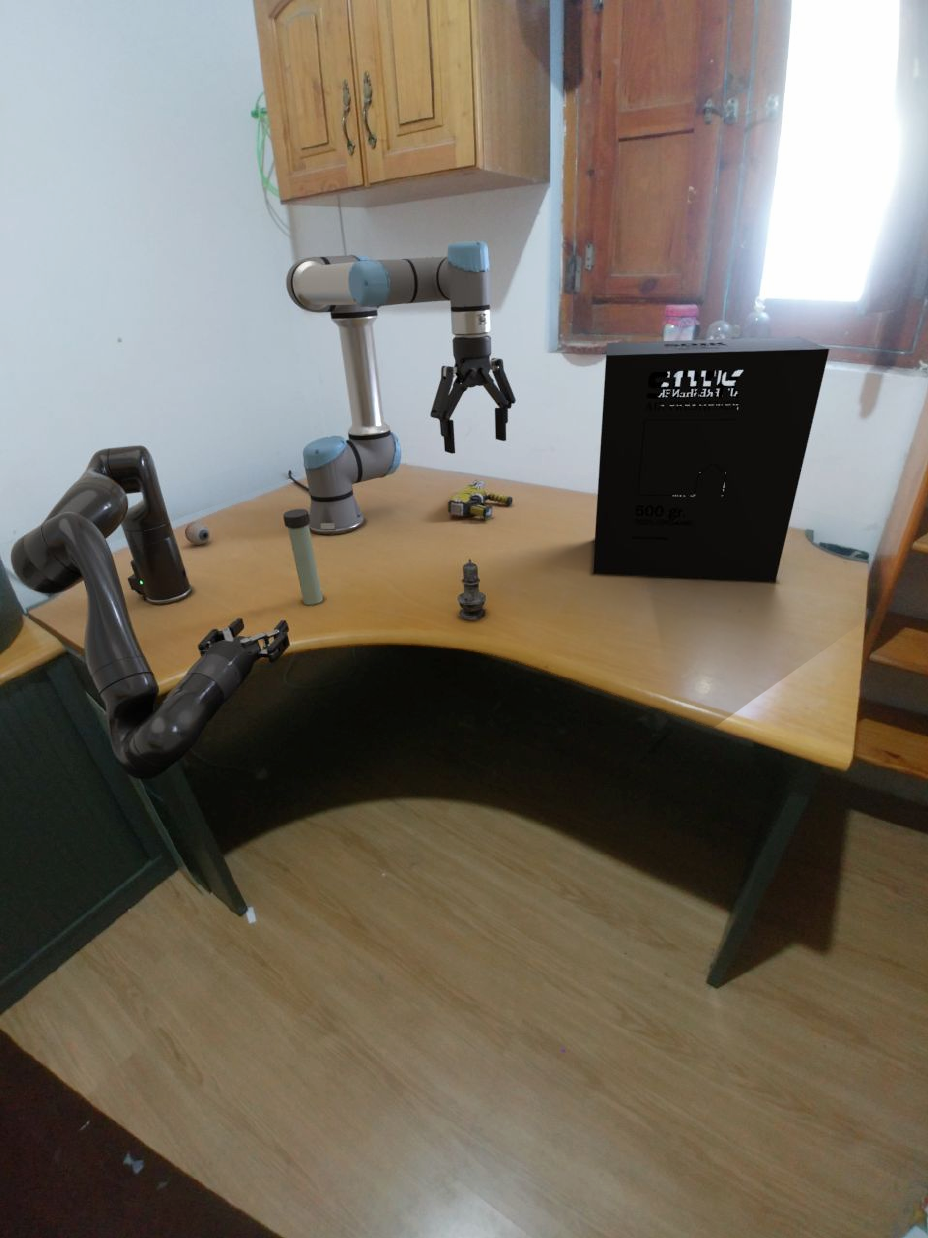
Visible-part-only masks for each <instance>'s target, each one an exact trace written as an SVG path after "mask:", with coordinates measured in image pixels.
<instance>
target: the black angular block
mask: <svg viewBox="0 0 928 1238" xmlns="http://www.w3.org/2000/svg"><path fill="white" fill-rule="evenodd" d="M605 351H606V352H605V367H604V369H605V370H604V383H603V384H604V385H603V399H602V400H603V401H602V415H601V431H600V433H601V434H600V448H599V465H598V481H597V497H596V511H595V512H596V514H595V529H594V531H595V532H594V547H593V548H594V550H593V566H592V575H608V576H628V577H629V576H631V577H654V578H655V577H656V578H675V579H676V578H677V579H678V578H679V579H701V580H702V579H703V580H724V581H725V580H726V581H747V582H770V583H776V582H777V577H778V573H779V568H780V565H781V560H782V556H783V552H784V547H785V543H786V538H787V534H788V531H789V530H788V529H789V525H790V521H791V518H792V517H791V516H792V514H793V513H792V512H793V508H794V504H795V500H796V496H797V491H798V488H799V482H800V477H801V474H802V470H803V465H804V460H805V456H806V453H807V448H808V444H809V440H810V435H811V431H812V427H813V422H814V418H815V414H816V409H817V405H818V400H819V397H820V391H821V387H822V383H823V380H824V379H823V378H824V375H825V370H826V366H827V363H828V362H827V361H828V358H829V353H830V348H828V347H826V346H824V345H820V344H819V343H815V342H813V341H811V340H808V339H805V338H803V337H800V336H780V337H778V336H775V337H749V338H748V337H747V338H745V337H744V338H721V339H720V338H717V339H716V338H715V339H689V340H688V339H687V340H684V339H683V340H657V341H655V340H654V341H628V342H627V341H626V342H624V341H623V342H607V343H606V349H605ZM720 371H721V372H720ZM737 371H742V372H740V374H739V375H734V374H735V373H736V372H737ZM678 372H682V376H681V377H680V382H679V385H677V386H676V382H677V377H676V374H677V373H678ZM689 372H694V373H693V382H695V385H691V384H692V376H689ZM702 372H705V375H704V376H702V374H703V373H702ZM719 375H720V379H719ZM724 375H725V377H724ZM723 378H724V382H734V383H733V385H725V384H723ZM705 382H710V385H704V384H705ZM664 383H665V384H666V383H667V386H663V385H664Z"/></svg>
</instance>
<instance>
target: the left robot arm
mask: <svg viewBox="0 0 928 1238" xmlns="http://www.w3.org/2000/svg"><path fill="white" fill-rule="evenodd" d="M139 493H141V495H142V499H141V500H140V501H139V502H137V503H136V504H133V505H131V506H129V498H128V496H127V495H131V494H139ZM120 526H121V529H122V532H123V534H124V537H125V540H126V543H127V546H128V549H129V551H130V554H131V557H132V559H131V561H130V566H131V568H132V572H133V574H131V575H130V576H128V577H127V582H128V584H129V587H130V590H131V591H135V593H137V594H138V595H140V596H142V600H143V601H146V602H148V603H149V604H152V605H167V604H171V603H175V602H178V601H181V600H183V599H186V598H187V597H188V596H189V595H190V594H191V593H192V592H193V589H192V586H191V584H190V581H189V577H188V571H187V567H186V566H185V564H184V560H183V558H182V555H181V552H180V549H179V546H178V543H177V539H176V536H175V533H174V530H173V526H172V523H171V519H170V516H169V514H168V510H167V506H166V501H165V498H164V496H163V493H162V488H161V485H160V480H159V477H158V472H157V468H156V465H155V462H154V458H153V456H152V454H151V452H150V451H149V449H148V448H147V447H146V446H145V445H142V444H140V445H139V444H137V445H136V444H135V445H126V446H117V447H107V448H102V449H100V450H98V451H96V452H95V453H93V455H92V456H91V458H90V460H89V462H88V464H87V466H86V468H85V470H84V472H83V473H82V474H81V476H80V477H79V478H78V480H76V481H75V482H74V483H73V484H72V485H71V486H70V487H69V488H68V489H67V490H66V491H65V493H64V494H63V495H62V497H61V498H60V499H59V500H58V502H57V503H56V504H55V505H54V507H53V508H52V509H51V511H50V512H49V513H48V515H47V516H46V517H45V519H44V520H43V522H41V524H39V525H38V526H37V527H35V528H33V529H32V530H30V531H29V532H27V533H26V534H24V535H23V536H21V537H20V538H19V539H17V540H16V541H15V543H14V544H13V546H12V547H11V550H10V564H11V569H12V570H13V572H14V574H15V576H16V578H17V579H18V580H19V581H20V582H21V583H22V584H23V585H24V586H25V587H27V588H29V589H31V590H32V591H34V592H38V593H41V594H46V595H55V594H60V593H63V592H66V591H68V590H70V589H73V588H74V587H75V586H78V585H79V584H81V583H82V582H84V586H85V591H86V599H87V600H86V601H87V604H86V606H87V611H86V612H87V614H86V624H85V625H86V626H85V633H84V658H85V659H84V660H85V664H86V668H87V670H88V673H89V675H90V678H91V680H92V682H93V684H94V687H95V688H96V691H97V693H98V695H99V697H100V699H101V701H102V704H103V705H104V709H105V717H106V724H107V729H108V736H109V740H110V746H111V749H112V753H113V756H114V758H115V760H116V761H117V764H118V765H119V767H121V769H122V770H123V771H124V772H125V773H126V774H128V775H129V776H131V777H132V778H135V779H137V780H151V779H153V778H156V777H158V776H160V775H161V774H162V773H164V772H165V771H166V770H168V769H169V768H170V767H171V766H173V765H174V764H175V763H176V762H178V761H179V760H180V759H182V758H183V757H184V756H185V755H187V753H188V752H189V751H190V750H191V749H192V747H193V746H194V745H195V744H196V742H197V741H198V739H199V738H200V737H201V735H202V733H203V731H204V729H205V727H206V726H207V723H209V721H211V719H212V718H213V717H214V716H215V714H216V713H217V712H218V711H219V710H220V708H221V707H222V706H223V705H224V704H225V703H226V702H227V701H228V700H230V699H231V697H232V696H233V695H234V694H235V692H236V691H237V690H238V689H239V688H240V686H241V685H242V684H243V683H244V681H245V680H246V679H247V678H248V677H249V675H250V674H251V672H252V670H253V668H254V665H255V663H256V662H258V661H259V660H261V659H262V658H263V659H268V662H269V663H270V664H271V663H272V664H273V663H276V662H277V661H278V660H279V659H280V658H281V656H283V654H284V653H285V652H286V651H287V649H288V648H289V647H290V646H291V643H290V639H289V635H288V633H289V631H290V628H289V624H288V622H287V620H286V619H281V620H280V621H279V622H278V623H277V624H276V626H275V627H274V628H273V629H272V630H271V631H268V632H264V631H262V632H260V633H257V634H255V635H253V636H244V635H240V633H242V632H243V630H245V623H244V620H243V618H242V617H237V618H236V619H235V620H233V621H232V622H231V623H230V624H229V625H227V627H223V628H222V629H221V630H219V629H218V628H213V629H211V630H210V631H209V632H208V633H207V635H206V636H204V637H203V639H201V641H200V642H199V643H198V644H197V649H198V652H199V655H200V657H199V658H198V659H197V661H195V662H194V663H193V665H191V667H189V669H188V670H187V672H186V673H185V675H184V676H183V677H182V678H181V679H180V680H179V682H177V684H175V686H174V687H173V688H172V689H170V691H169V692H168V693H167V694H166V696H165V698H164V700H163V701H162V703H160V705H158V706H157V707H156V708H155V709H154V705H155V702H156V700H157V698H158V696H159V693H160V687H159V683H158V681H157V678H156V676H155V675H154V672H153V670H152V667H151V666H150V664H149V661H148V660H147V658H146V655H145V653H144V651H143V649H142V647H141V645H140V642H139V640H138V638H137V635H136V633H135V630H134V627H133V624H132V621H131V617H130V614H129V610H128V609H129V608H128V606H127V603H126V598H125V594H124V591H123V587H122V583H121V580H120V576H119V573H118V569H117V566H116V562H115V559H114V556H113V553H112V550H111V547H110V546H109V543H108V541H107V539H108V538H109V537H110V536H111V535H112V534H114V533H115V532H116V530H117V529H118V528H119V527H120ZM271 638H273V640H272V641H270V639H271ZM259 641H261V643H262V647H261V645H260V642H259Z"/></svg>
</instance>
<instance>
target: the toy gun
mask: <svg viewBox="0 0 928 1238" xmlns="http://www.w3.org/2000/svg"><path fill="white" fill-rule="evenodd" d="M485 485H486V483H485V480H480V481H479V479H475V480H474V481H472V483H470V484H467V486H465V487H464V488H463V489H462V490H461V491H459V492H458V493H456V494H455V495H454V496H453V497H452V498H451V499H450V500H448V502H447V513H448V514H449V515H451V516H452V517H456V518H458V517H467V516H472V515H473V516H479V517H482V520H484V521H486V520H487V519H489V518H491V517H492V516H493V515H492V514H493V505H492V504H488V505H486V503H485V502H486V501H488V500H489V501H490V502H494V503H496V502H497V503H499V504H504V505H507V506H508V507H509V506H512V505H513V502H514V501H513V500H514V498H513V497H512V496H508V495H507V496H506V495H502V494H498V493H494V492H490V493H489V494H487V492H486V490H485V488H483V487H484V486H485Z"/></svg>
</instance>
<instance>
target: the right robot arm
mask: <svg viewBox="0 0 928 1238" xmlns="http://www.w3.org/2000/svg"><path fill="white" fill-rule="evenodd" d="M490 270H491V265H490V258H489V246H488V245H487V243H486V242H485V241H482V240H472V241H470V240H469V241H457V242H451V243H449V245H448V246H447V255H446V256H431V257H430V256H429V257H428V256H427V257H415V258H414V257H413V258H398V259H397V258H396V259H395V258H394V259H393V258H391V259H389V258H388V259H372V258H370V257H369V256H367V255H358V254H349V255H328V256H326V255H325V256H310V257H305V258H302V259H300V260H298V261H296V262H295V263H293V265H291V267H290V268H289V269H288V272H287V274H286V280H285V284H286V285H285V286H286V291H287V293H288V296H289V298H290V299H291V300H292V303H294V304H295V305H296V306H298V307H299V308H300V309H302V310H304V311H306V312H310V313H318V314H319V313H320V314H321V313H330V320H331V321H332V322H333V323H334V324H335V325H336V326H337V327H338V332H339V333H338V334H339V339H340V347H341V355H342V361H343V369H344V375H345V382H346V383H345V384H346V389H347V396H348V403H349V410H350V418H351V425H350V426H349V428H348V430H347V436H348V439H345V437H343V436H341V435H332V436H324V437H321V438H318V439H315V440H312V441H311V442H309V443H308V444H306V445H305V446H304V448H303V450H302V457H303V459H302V460H303V467H304V471H305V476H306V481H307V486H308V487H307V486H306V485H304V484H302V483H301V482H299V481H297V479H295V478H294V477H293V476H292V470H291V469H289V470H288V477H289V479H290V480H291V481H292V482H294V483H295V484H296V485H298V486H299V487H301V488H302V489H305V490H306V491H307V492H309V498H310V507H309V512H308V514H309V518H310V523H309V530H310V532H312V533H314V534H317V535H323V536H324V535H325V536H327V535H329V536H331V535H339V534H340V535H341V534H345V533H350V532H353V531H355V530H357V529H359V528H361V527H362V526H363V525H364V523H365V519H364V514H363V512H362V510H361V508H360V505H359V504H358V501H357V500H356V498H355V495H354V489H353V485H356V484H359V483H363V482H368V481H371V480H375V479H381V478H385V477H387V476H390V475H392V474H393V475H394V474H395V473H396V472H397V471H398V469H399V467H400V465H401V462H402V446H401V443H400V441H399V437H398V436H397V435H396V434H395V432H394V431H391V426H390V425H388V423H386V422H385V420H384V419H385V418H384V409H383V402H382V393H381V385H380V377H379V368H378V367H379V366H378V358H377V349H376V341H375V331H374V324H375V322H376V320H377V319H378V317H379V314H378V309H379V308H381V307H386V306H387V307H388V306H394V305H403V304H405V305H406V304H407V305H408V304H418V303H419V304H420V303H431V302H432V303H433V302H446V301H447V302H449V301H450V302H449V303H450V321H451V322H450V323H451V324H450V325H451V334H452V335H453V336H454V337H453V339H452V355H453V358H454V366H450V365H442V366H441V369H440V381H439V382H438V383H439V384H438V387H437V390H436V394H435V396H434V400H433V403H432V407H431V410H430V414H429V415H430V418H433V419H438V421H439V429H440V436H441V437H443V446H444V452H446V453H448V454H456V441H455V424H454V419H451V418H452V416H453V413H455V410H456V408H457V406H458V404H459V402H460V401H461V399H462V397H463V396H464V395H463V394H464V393H465V392H466V391H467V390H468V389H469V388H470V389H471V388H475V387H483V388H484V389H485V390H486V392H487V393H488V394H489V396H490V397H491V399H492V400H493V401H494V403H495V404H496V406H497V407H495V408H494V426H495V427H494V429H495V430H494V432H495V434H494V435H495V440H496V441H497V440H498V441H501V442H507V424H508V422H509V410H510V409H511V408H512V406H513V405H514V404H515V403H516V402H517V401H516V399H517V398H516V396H515V394H514V392H513V389H512V387H511V384H510V382H509V379H508V377H507V374H506V372H505V367H504V360H503V358H498V357H492V358H491V355H492V337H491V335H489V333H490V332H491V330H492V329H491V328H492V327H491V325H492V324H491V290H490V289H491V287H490V286H491V285H490V284H491V283H490V281H491V280H490V279H491V277H490V274H491V273H490ZM490 358H491V359H490ZM490 372H492V375H493V377H494V378H493V377H492V376H491V375H490ZM454 378H455V379H454ZM495 382H496V383H495Z"/></svg>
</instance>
